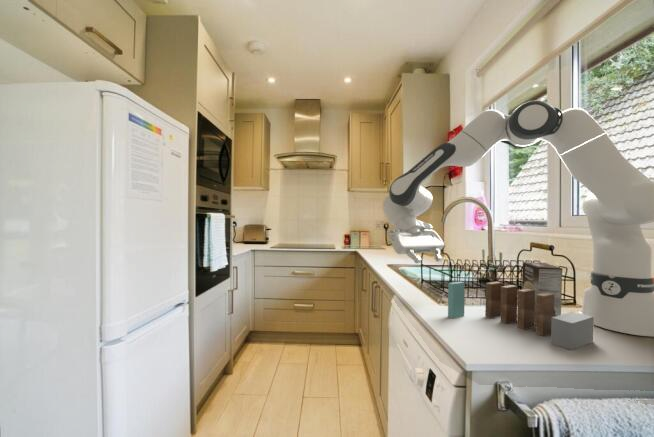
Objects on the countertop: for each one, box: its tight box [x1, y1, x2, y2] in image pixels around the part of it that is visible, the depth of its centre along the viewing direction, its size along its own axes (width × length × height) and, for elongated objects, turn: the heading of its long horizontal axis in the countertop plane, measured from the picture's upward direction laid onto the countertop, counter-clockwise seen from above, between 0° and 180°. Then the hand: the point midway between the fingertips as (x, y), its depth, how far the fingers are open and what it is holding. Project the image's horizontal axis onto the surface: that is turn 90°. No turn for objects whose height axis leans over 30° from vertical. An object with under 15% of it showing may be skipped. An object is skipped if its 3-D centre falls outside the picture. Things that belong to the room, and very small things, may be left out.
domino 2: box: [484, 281, 503, 319], centre depth 84 cm, size 2×5×10 cm, turn 116°
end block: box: [550, 311, 594, 351], centre depth 66 cm, size 10×4×6 cm, turn 116°
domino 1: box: [447, 281, 466, 319], centre depth 83 cm, size 2×5×10 cm, turn 116°
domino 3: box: [500, 284, 519, 324], centre depth 80 cm, size 2×5×10 cm, turn 116°
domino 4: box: [516, 289, 535, 330], centre depth 76 cm, size 2×5×10 cm, turn 116°
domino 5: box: [535, 293, 554, 337], centre depth 72 cm, size 2×5×10 cm, turn 116°
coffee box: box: [521, 261, 563, 324], centre depth 81 cm, size 9×6×16 cm
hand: (429, 261), depth 93 cm, fingers open, 8 cm apart
